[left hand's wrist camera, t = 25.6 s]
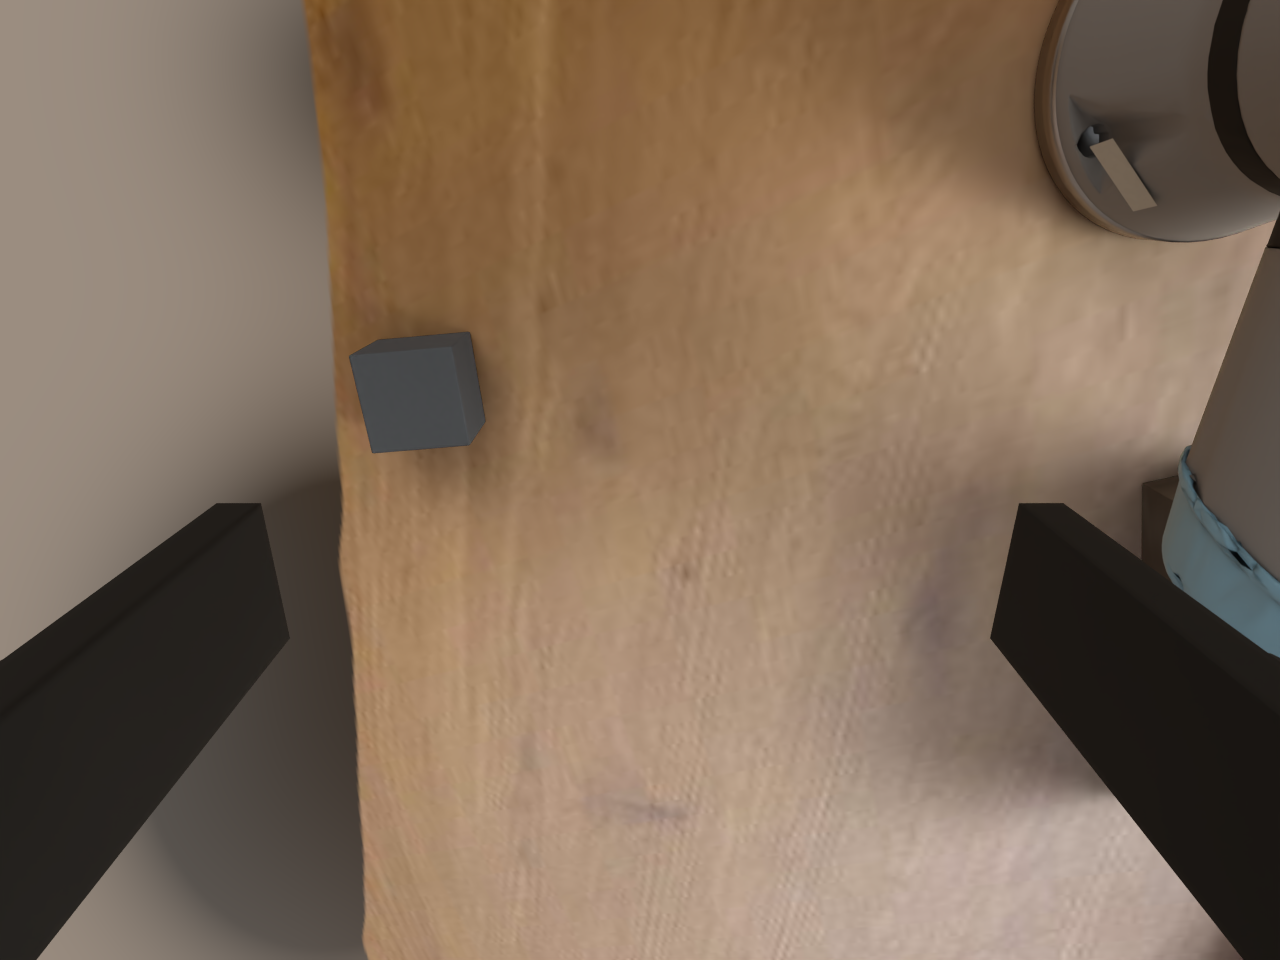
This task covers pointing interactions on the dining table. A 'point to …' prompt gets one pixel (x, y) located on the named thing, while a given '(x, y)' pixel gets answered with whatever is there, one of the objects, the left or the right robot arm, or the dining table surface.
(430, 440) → the slate block
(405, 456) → the dining table surface
